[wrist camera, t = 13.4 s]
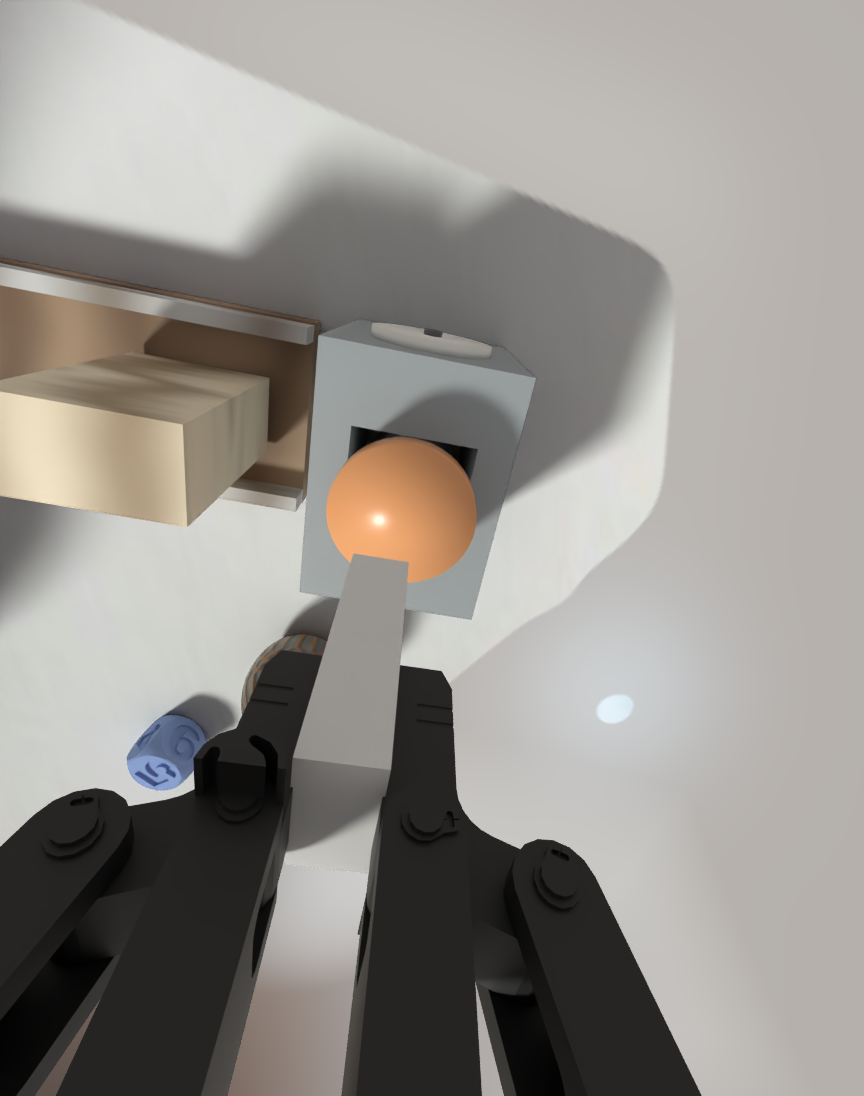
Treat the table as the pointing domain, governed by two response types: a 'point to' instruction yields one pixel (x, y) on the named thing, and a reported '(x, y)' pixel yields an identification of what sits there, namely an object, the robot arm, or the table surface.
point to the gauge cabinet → (417, 411)
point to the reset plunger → (403, 505)
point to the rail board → (171, 353)
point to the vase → (288, 643)
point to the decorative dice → (165, 752)
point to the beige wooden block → (131, 435)
